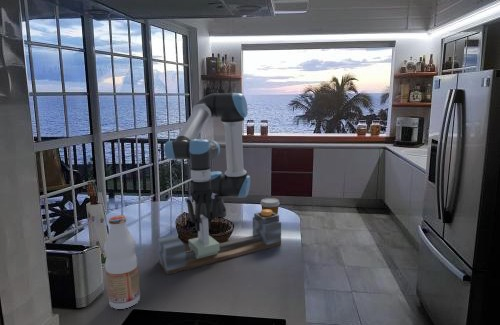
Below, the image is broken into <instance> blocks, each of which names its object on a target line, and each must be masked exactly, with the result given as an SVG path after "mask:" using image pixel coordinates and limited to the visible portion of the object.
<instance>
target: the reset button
mask: <svg viewBox="0 0 500 325" xmlns="http://www.w3.org/2000/svg"><path fill="white" fill-rule="evenodd" d="M260 212H261V216H262V217H264V218H265V217H269V216H272V210H269V209H264V210H262V209H261V210H260Z"/></svg>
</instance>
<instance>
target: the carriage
mask: <svg viewBox="0 0 500 325" xmlns="http://www.w3.org/2000/svg"><path fill="white" fill-rule="evenodd" d="M200 222H201V223H202V239H199V238H198V237H194V238H190V239H188V248H190V250H189V251H194V252H195V258H196V259H199V258H203V257H207V256H211V255H215V254H218V251H220V248H219V244H220V242H219V241H217V239H215V238H213V237H212V236H211V235H209V234H210V232H209V230H210V229H209V230H208V218H206V217H205V216H203V215H200Z"/></svg>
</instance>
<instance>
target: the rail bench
mask: <svg viewBox="0 0 500 325" xmlns="http://www.w3.org/2000/svg"><path fill="white" fill-rule="evenodd" d="M253 215H254V216H253V217H252V235H250V236H245V237H240V238H238V239H233V240H228V241H224V242H219V248H220V251H218V254H215V255H211V256H207V257H203V258H199V259H196V258H195V252H194V251H190V250H187V251H186V245H185V244H184V242H183V241H182V240H181V239H180V238H179V237H178V236H177V235H176V234H174V233H173V234H168V235H163V236H159V237H156V245H157V246H156V247H157V259H158V261H159V262H160V263H159V262H158V263H159V265H160V264H161V265H162V266H161V265H160V266H161V268H162V269H163V268H164V269H165V270H164V269H163V270H164V272H165V271H166V272H167V273H166V272H165V273H166V274H167V275H168V274H169V275H171V274H170V273H172V274H175V273H174V272H176V273H179V272H178V271H180V272H183V271H182V270H184V271H186V269H187V270H190V268H191V269H194V268H199V267H202V266H205V265H210V264H214V263H217V262H221V261H224V260H228V259H231V258H235V257H239V256H244V255H246V254H247V255H248V254H252V253H254V252H258V251H261V250H262V251H263V250H265V249H270V248H273V247H278V246H281V245H282V222H281V221H280V215H279V214H278V215H277V214H275V213H273V212H272V216H269V217H265V218H264V217H262V216H261V211H260V212H255V213H253Z"/></svg>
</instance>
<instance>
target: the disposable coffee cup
mask: <svg viewBox="0 0 500 325" xmlns="http://www.w3.org/2000/svg"><path fill="white" fill-rule="evenodd" d="M280 204H281V203H280V200H279V199H278V198H275V197H266V198H263V199H261V200H260V206H261V210H264V209H269V210H272V212H273V213H275V214H277V215H279V214H278V213H279V206H280Z"/></svg>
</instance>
